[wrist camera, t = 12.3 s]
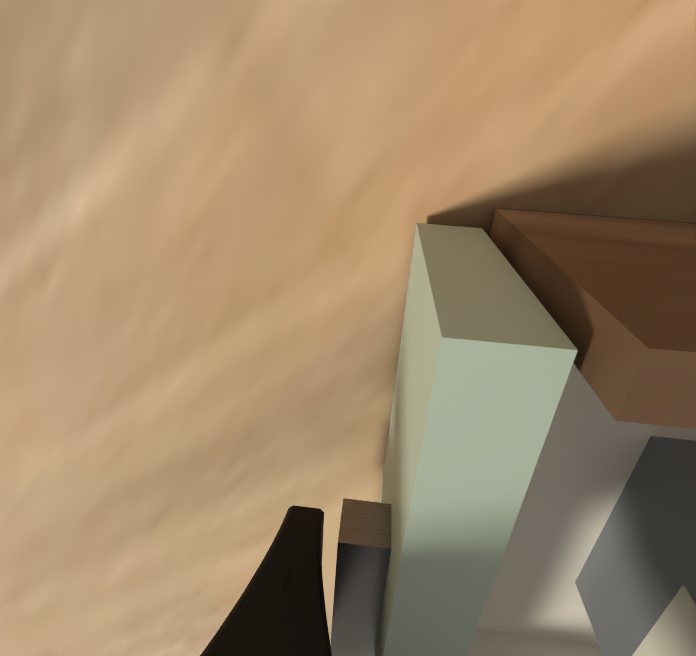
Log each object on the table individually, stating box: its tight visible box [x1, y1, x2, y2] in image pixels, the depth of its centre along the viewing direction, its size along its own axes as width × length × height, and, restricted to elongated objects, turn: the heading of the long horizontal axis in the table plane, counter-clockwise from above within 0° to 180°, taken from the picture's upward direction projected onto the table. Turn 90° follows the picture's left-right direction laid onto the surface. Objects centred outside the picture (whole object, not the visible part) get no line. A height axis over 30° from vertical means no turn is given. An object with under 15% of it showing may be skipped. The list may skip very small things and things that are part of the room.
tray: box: [331, 223, 696, 656], centre depth 10 cm, size 15×14×5 cm
